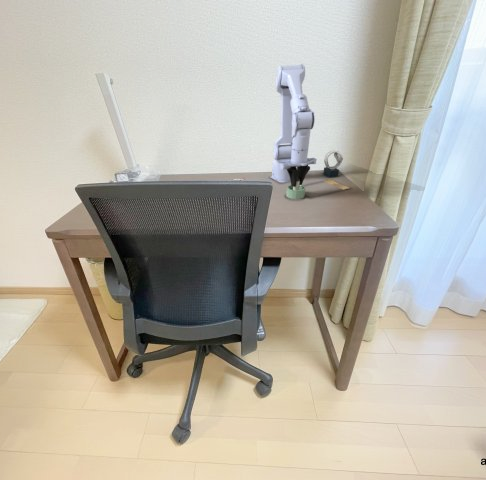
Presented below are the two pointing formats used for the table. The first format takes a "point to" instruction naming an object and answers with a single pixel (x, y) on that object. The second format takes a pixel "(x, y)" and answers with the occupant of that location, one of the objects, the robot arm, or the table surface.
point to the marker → (297, 184)
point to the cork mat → (337, 184)
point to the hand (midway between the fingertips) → (296, 185)
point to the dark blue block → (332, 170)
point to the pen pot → (295, 192)
